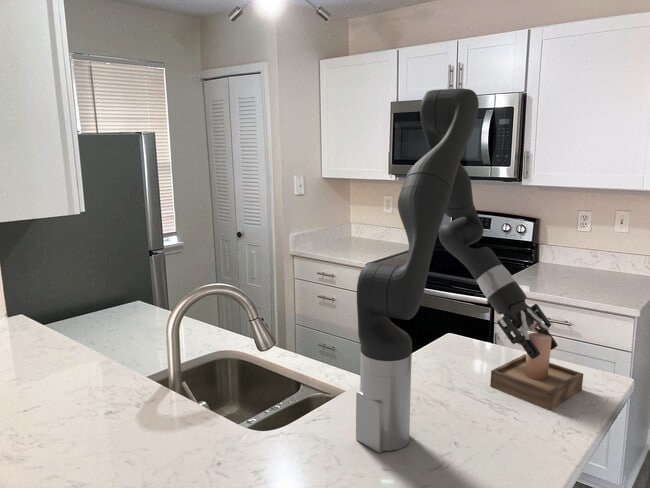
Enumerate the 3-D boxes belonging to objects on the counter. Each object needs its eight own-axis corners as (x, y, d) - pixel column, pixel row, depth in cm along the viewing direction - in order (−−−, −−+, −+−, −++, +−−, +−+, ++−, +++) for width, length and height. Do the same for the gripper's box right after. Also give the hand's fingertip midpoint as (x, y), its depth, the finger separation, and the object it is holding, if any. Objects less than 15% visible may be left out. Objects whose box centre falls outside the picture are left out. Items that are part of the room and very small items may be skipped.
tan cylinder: (540, 382, 115) (544, 342, 113) (520, 374, 119) (523, 336, 117) (552, 375, 118) (555, 337, 116) (531, 368, 122) (535, 331, 120)
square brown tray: (550, 410, 109) (551, 393, 108) (490, 386, 120) (491, 370, 119) (581, 389, 118) (583, 373, 117) (523, 369, 129) (524, 354, 128)
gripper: (493, 286, 115) (541, 353, 109) (528, 275, 124) (574, 336, 118) (471, 303, 120) (515, 369, 114) (507, 292, 129) (549, 352, 123)
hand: (545, 352), depth 116 cm, fingers open, 7 cm apart
